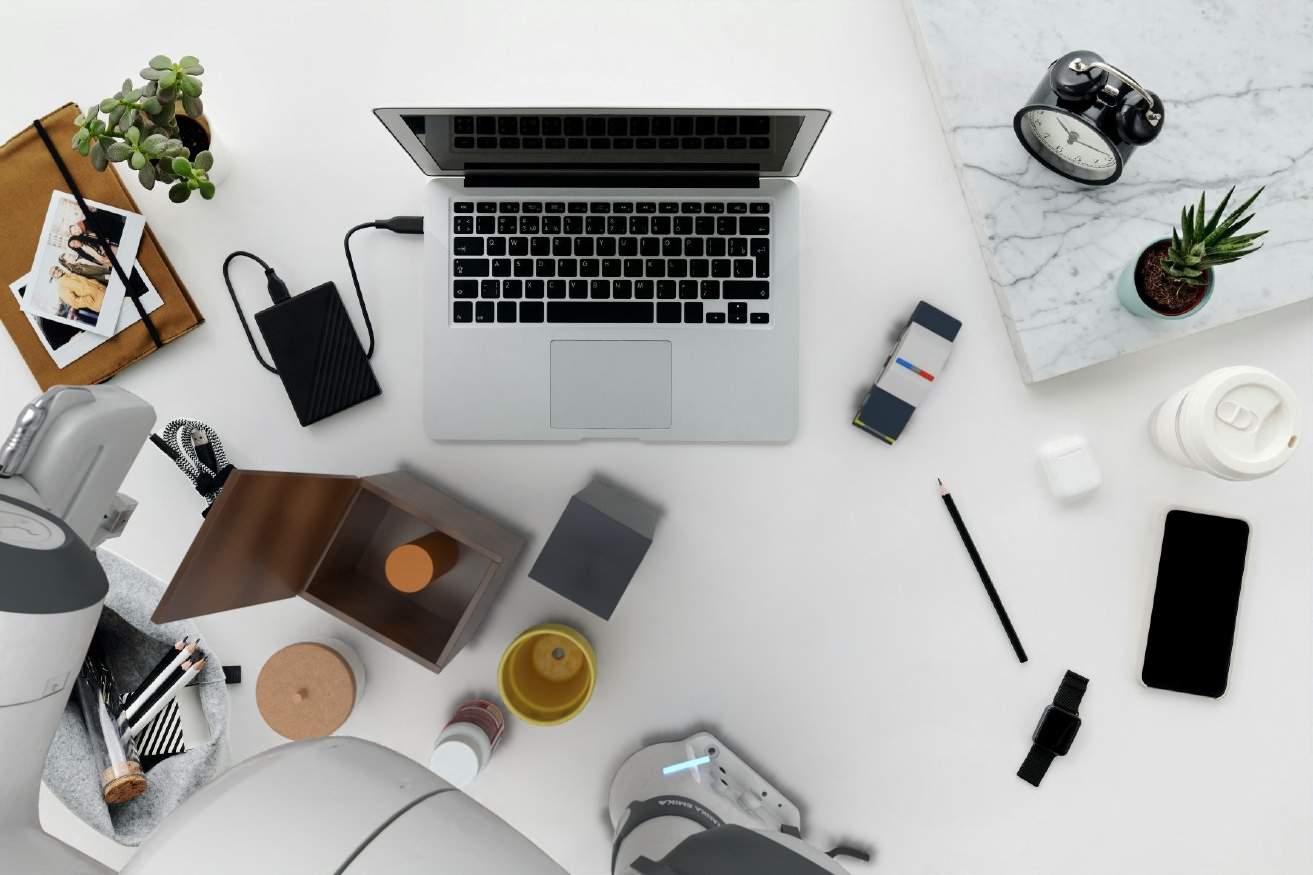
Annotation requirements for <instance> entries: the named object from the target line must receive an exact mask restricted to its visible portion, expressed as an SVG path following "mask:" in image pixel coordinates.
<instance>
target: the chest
mask: <svg viewBox="0 0 1313 875" xmlns="http://www.w3.org/2000/svg"><path fill="white" fill-rule="evenodd" d="M359 478H360V479H361V480H360V481H359V483H358V485H357V487H356V489H355V490H354V492H353V494H352V496H351V498H350V500H349V501H348V503H347V505H346V507H345V509H344V510H343V512H342V514H341V516H340V518H339V519H338V521H337V523H336V525H335V527H334V528H333V530H332V532H331V534H330V536H329V537H328V539H327V541H326V543H325V545H324V546H323V548H322V550H321V552H320V554H319V555H318V557H317V559H316V561H315V563H314V564H313V566H312V568H311V570H310V572H309V574H308V575H307V577H306V579H305V581H304V583H303V584H302V586H301V588H300V590H299V592H298V593H297V595H296V597H299V598H301V599H302V600H305V601H306V602H307V603H309V604H312V605H313V606H315V607H317V608H318V609H320V610H322V611H324V612H326V613H327V614H329V615H331V616H332V617H334V618H336V619H338V620H339V621H342V622H343V623H345V624H347V625H349V626H350V627H352V628H354V629H355V630H358V631H359V632H361V633H363V634H365V635H366V636H367V637H370V638H372V639H374V640H375V641H377V642H379V643H381V644H383V645H384V646H386V647H388V648H389V649H391V650H393V651H395V652H397V653H398V654H400V655H402V656H404V657H406V658H407V659H409V660H411V661H412V662H414V663H416V664H418V665H420V666H421V667H423V668H424V669H427V670H428V671H430V672H432V673H434V674H436V675H440V674H441V672H443V671H444V669H446V667H447V666H448V665H449V664H450V663H451V662H452V661H453V660H454V659H455V658H456V657H457V656H458V654H460V653H461V651H462V650H463V649H464V648H465V647H466V646H467V645H468V644H469V643H470V641H472V639H473V638H474V636H475V634H476V632H477V630H478V629H479V627H480V625H481V624H482V621H483V619H484V618H485V615H486V614H487V612H488V610H489V608H491V606H492V604H493V603H494V600H495V599H496V596H497V595H498V593H499V591H500V589H501V587H502V585H503V584H504V582H505V580H506V579H507V576H508V575H509V573H510V571H511V569H512V567H513V566H514V564H515V562H516V560H517V559H518V557H519V555H520V553H521V551H522V550H523V548H524V546H525V544H526V542H527V541H528V539H527V538H526V537H524V536H522V535H520V534H519V533H517V532H515V531H513V530H512V529H510V528H508V527H507V526H504V525H503V524H501V523H499V522H497V521H496V520H494V519H492V518H490V517H488V516H487V515H485V514H484V513H481V512H480V511H478V510H476V509H474V508H472V507H470V506H468V505H467V504H465V503H463V502H462V501H460V500H458V499H456V498H455V497H453V496H451V495H450V494H448V493H446V492H444V491H442V490H441V489H438V488H437V487H435V486H433V485H432V484H430V483H428V482H426V481H424V480H422V479H421V478H419V477H417V476H415V475H413V474H411V473H410V472H408V471H407V470H399V471H398V470H397V471H392V472H385V473H379V474H378V473H377V474H373V475H372V474H371V475H365V476H360V477H359ZM433 532H441V533H445V534H447V535H449V536H450V537H451V538H452V539H453V540H454V541H455V542H456V544H457V547H458V551H459V556H458V560H457V563H456V565H455V566H454V567H453V569H452V570H450V571H449V572H447V573H446V574H444V575H443V576H441V577H440V578H438V579H437V580H435V581H433V582H432V583H430V584H429V585H427V586H426V587H424V588H423V589H421V590H419V591H416V592H403V591H400V590H398V589H396V588H395V587H394V586H392V584H391V583H390V582H389V580H388V578H387V576H386V571H385V565H386V561H387V558H388V556H389V555H390V553H391V552H392V551H393V550H394V549H396V548H397V547H399V546H402V545H404V544H406V543H409V542H411V541H413V540H416V539H418V538H420V537H423V536H425V535H427V534H430V533H433Z"/></svg>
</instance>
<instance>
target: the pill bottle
mask: <svg viewBox="0 0 1313 875" xmlns="http://www.w3.org/2000/svg"><path fill="white" fill-rule="evenodd" d="M504 719H505V718H504V717H503V714H502V712H501V710H500V709H499V708H498V707H497V706H496V705H495V704H494V703H492V702H490V701H488V700H485V699H471V700H469V701H467V702H465V703H463V704H462V705H461V706H459V708H458V709H456V711H455V712H454V714H452V716H451V717H450V719H449V720H448V722H446V724H445V726H444V727H443V728H442V730H441V731H440V733H439V734H438V736H437V737H436V740H435V742H434V745H433V751H432V753H431V755H430V759H429V765H428V766H429V770H431V771H432V772H434V773H435V774H437V775H438V776H440V777H441V778H443V779H444V780H446V781H447V782H449V783H450V784H452V785H453V786H455V787H456V788H458V789H460V790H461V789H465V788H466V787H468V786H469V785H470V784H472V783H473V781H474V780H475V779H476V777H478V776H479V775H480V774H482V772H483V771H484V770H486V768H487V766H488V764H489V763H490V761H491V759H492V757H493V755H494V754H495V752H496V749H497V748H498V746H499V744H500V742H501V740H502V737H503V735H504V732H505V720H504Z"/></svg>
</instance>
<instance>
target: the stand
mask: <svg viewBox="0 0 1313 875" xmlns="http://www.w3.org/2000/svg"><path fill="white" fill-rule="evenodd" d="M656 519H657V512H656V511H655V510H654V509H652V508H650V507H648V506H646V505H644V504H642V503H641V502H639V501H637V500H636V499H634V498H632V497H631V496H628V495H627V494H625V493H623V492H621V491H619V489H616V488H614V487H612V486H611V485H609V484H607V483H606V482H604V481H602V480H600V479H597V478H596V479H594V481H592V482H591V483H589V484H588V485H587V486H585V487H584V488H582V489H581V490H579V491H578V492H576V493H575V494H573V495H572V496H571V497H570V499H569V501H568V503H567V504H566V506H565V508H564V510H563V512H562V513H561V515H560V517H559V519H558V521H557V522H556V524H555V526H554V528H553V529H552V531H551V533H550V535H549V537H548V538H547V540H546V542H545V544H544V545H543V547H542V549H541V551H540V552H539V555H538V557H537V559H536V560H535V562H534V563H533V565H532V567H531V568H530V571H529V572H528V574H527V577H528V578H529V579H531V580H533V581H535V582H537V583H538V584H540V585H541V586H544V587H545V588H547V589H549V590H551V591H552V592H554V593H556V594H558V595H559V596H561V597H563V598H565V599H567V600H568V601H570V602H572V603H574V604H576V605H577V606H579V607H581V608H583V609H584V610H586V611H588V612H590V613H592V614H593V615H595V616H597V617H598V618H600V619H603V620H604V621H606V622H609V621H610V619H611V617H612V615H613V614H614V611H615V610H616V608H617V607H618V604H619V603H620V601H621V599H622V598H623V596H624V594H625V592H626V590H627V589H628V586H629V585H630V583H631V581H632V579H633V578H634V576H635V574H636V572H637V570H638V569H639V567H640V565H641V564H642V562H643V560H644V558H645V556H646V555H647V552H648V551H649V549H650V548H651V546H652V544H653V542H654V534H655V527H656V526H655V525H656V521H657V520H656Z"/></svg>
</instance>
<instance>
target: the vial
mask: <svg viewBox="0 0 1313 875" xmlns="http://www.w3.org/2000/svg"><path fill="white" fill-rule="evenodd" d="M458 556H459V551H458V547H457V544H456V542H455V541H454V540H453V539H452V538H451V537H450V536H449V535H447V534H445V533H441V532H433V533H430V534H427V535H425V536H423V537H420V538H418V539H416V540H413V541H411V542H409V543H406V544H404V545H402V546H399V547H397V548H396V549H394V550H393V551H392V552H391V553H390V555H389V556H388V558H387V561H386V565H385V571H386V576H387V578H388V580H389V582H390V583H391V584H392V586H394V587H395V588H396V589H398V590H400V591H403V592H416V591H419V590H421V589H423V588H424V587H426V586H427V585H429V584H430V583H432V582H433V581H435V580H437V579H438V578H440V577H441V576H443V575H444V574H446V573H447V572H449V571H450V570H452V569H453V567H454V566H455V565H456V563H457V560H458Z"/></svg>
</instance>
